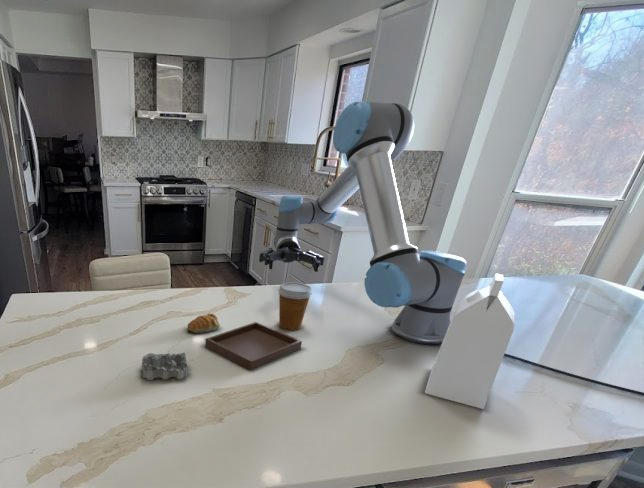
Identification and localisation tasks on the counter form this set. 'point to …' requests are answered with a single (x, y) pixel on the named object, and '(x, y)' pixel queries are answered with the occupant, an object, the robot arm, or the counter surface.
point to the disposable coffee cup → (293, 304)
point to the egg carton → (164, 366)
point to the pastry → (204, 323)
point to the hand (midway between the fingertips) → (294, 266)
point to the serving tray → (253, 345)
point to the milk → (473, 347)
